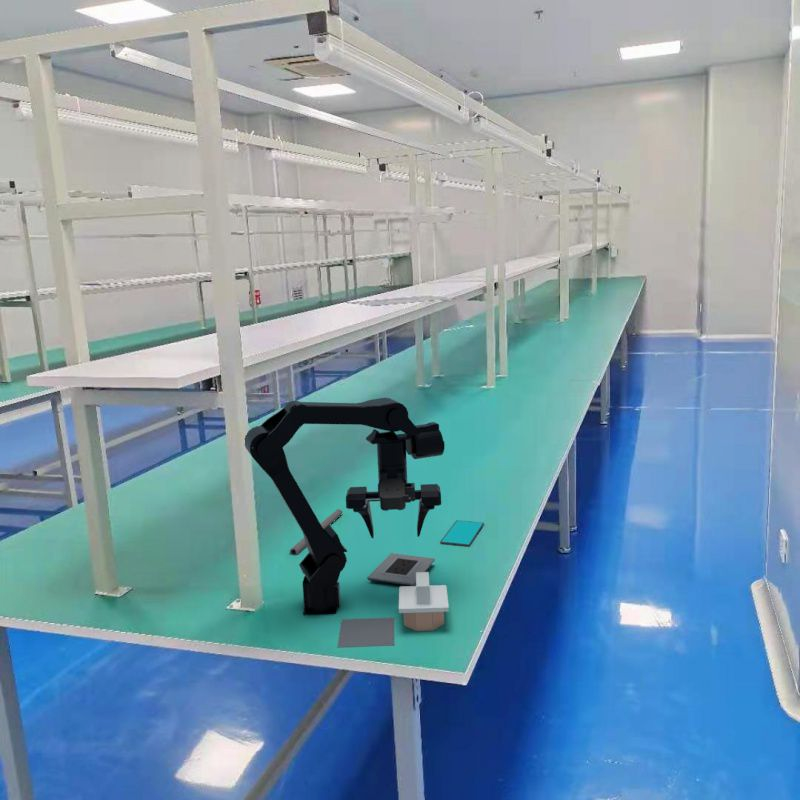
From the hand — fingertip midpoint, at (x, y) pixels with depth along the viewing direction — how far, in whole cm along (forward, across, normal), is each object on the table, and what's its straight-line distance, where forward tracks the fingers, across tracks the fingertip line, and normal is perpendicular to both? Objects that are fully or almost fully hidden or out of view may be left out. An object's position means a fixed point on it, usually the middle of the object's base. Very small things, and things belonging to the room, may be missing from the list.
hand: (395, 536), depth 146 cm
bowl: (+12, +5, -13) cm, 18 cm away
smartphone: (+13, +16, +30) cm, 36 cm away
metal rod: (+13, -20, +34) cm, 41 cm away
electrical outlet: (+13, +1, +8) cm, 15 cm away
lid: (+8, +5, -13) cm, 16 cm away
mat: (+12, -6, -16) cm, 21 cm away
